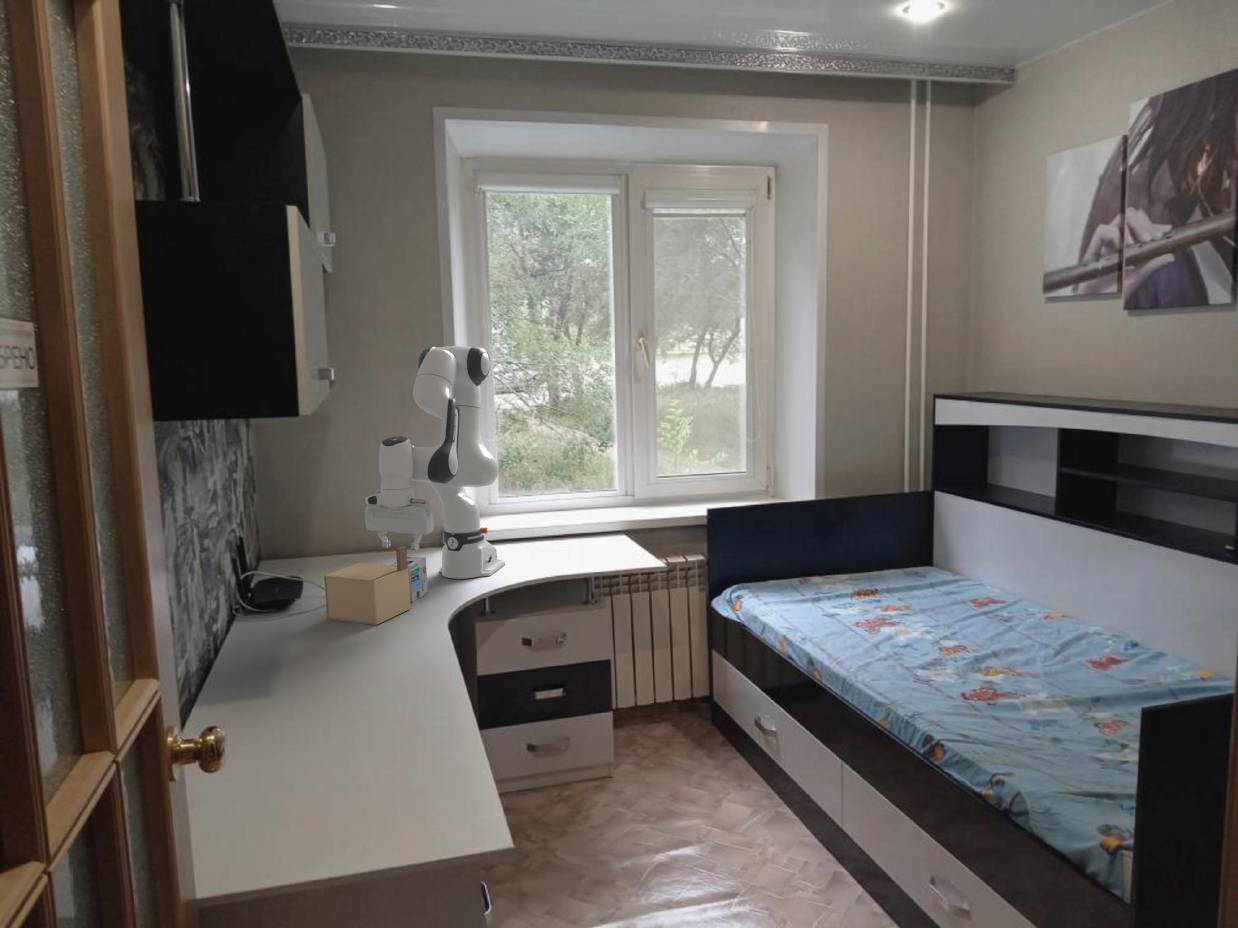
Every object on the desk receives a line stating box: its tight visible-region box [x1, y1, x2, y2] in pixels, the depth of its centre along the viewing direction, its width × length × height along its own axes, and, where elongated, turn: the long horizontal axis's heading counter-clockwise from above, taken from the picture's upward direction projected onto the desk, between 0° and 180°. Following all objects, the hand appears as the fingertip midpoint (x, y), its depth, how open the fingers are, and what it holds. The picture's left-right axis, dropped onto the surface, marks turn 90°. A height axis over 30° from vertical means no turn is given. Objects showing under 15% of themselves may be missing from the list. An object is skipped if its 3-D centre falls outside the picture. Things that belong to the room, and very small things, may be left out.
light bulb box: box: [389, 556, 429, 603], centre depth 245 cm, size 11×7×11 cm, turn 168°
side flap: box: [373, 545, 411, 625], centre depth 226 cm, size 14×1×18 cm, turn 157°
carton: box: [323, 562, 397, 626], centre depth 230 cm, size 14×16×12 cm
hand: (400, 548), depth 229 cm, fingers open, 8 cm apart
